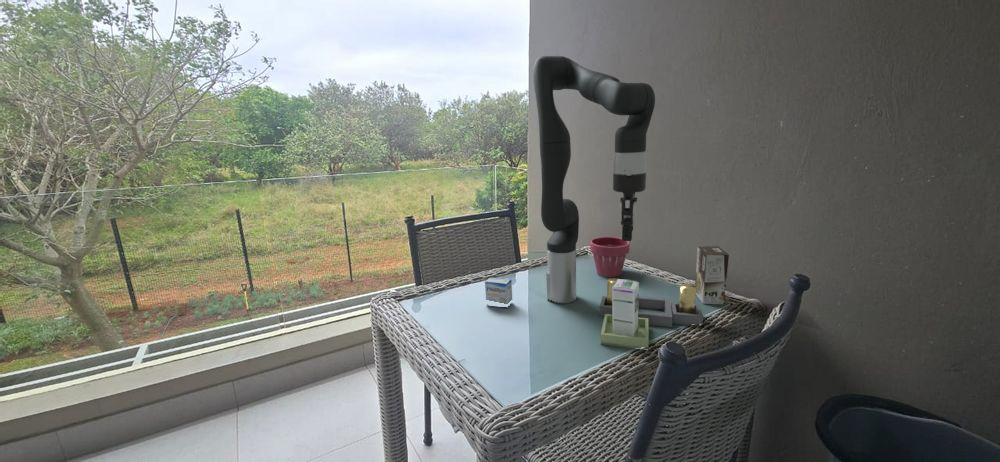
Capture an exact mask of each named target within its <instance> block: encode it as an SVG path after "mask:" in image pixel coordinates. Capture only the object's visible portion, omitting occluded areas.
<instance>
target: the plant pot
mask: <svg viewBox="0 0 1000 462" xmlns="http://www.w3.org/2000/svg"><path fill="white" fill-rule="evenodd" d="M589 247H590V249H589V251H590V252H591V253H592V255H593V261H594V265H595V269H596V273H597V275H599V276H600V275H601V276H600V277H603V278H604V277H605V278H617V277H620V276H621V275H622V272H623V268H624V265H625V262H626V257H627V254H629V252H630V241H623V240H622V237H616V236H600V237H599V236H598V237H595V238H592V239H591V240H590V245H589ZM619 275H620V276H619Z"/></svg>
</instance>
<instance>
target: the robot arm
mask: <svg viewBox="0 0 1000 462" xmlns="http://www.w3.org/2000/svg"><path fill="white" fill-rule="evenodd" d="M532 71H533V72H532V77H533V78H532V79H533V87H534V94H535V101H536V108H537V118H538V133H539V153H540V154H539V156H540V163H541V165H540V167H541V168H540V169H541V172H540V173H541V203H540V204H541V207H540V216H541V222H542V224H543V226H544V227H545V229H546V230H547V231H549V232H551V233H552V234H551V236H550V237H549V239H548V240H547V243H546V251H547V252H546V254H547V272H546V276H545V277H546V300H547V299H549V300H548V301H551V300H552V301H551V302H553V301H554V302H553V303H556V302H557V304H569V303H573V302H575V301H576V300H577V242H578V240H579V229H580V228H579V227H580V225H579V224H580V215H579V213H580V212H579V209H578V207H577V205H576V203H575V202H574V201H573V200H571V199H568V198H564V197H563V196H564V183H565V179H566V177H567V174H568V169H569V167H570V164H571V163H570V162H571V159H572V149H571V147H572V146H571V136H570V135H571V134H570V132H569V130H568V128H567V125H566V123H565V122H564V120H563V119H562V117H561V116H560V114H559V112H558V111H557V107H556V104H555V99H554V91H562V90H575V91H578V92H579V94H580V95H581V96H582V97H583V98H584V99H586V100H588V101H590V102H592V103H594V104H598V105H601V106H602V107H603V108H604V109H605V110H607V112H609V113H611V114H614V115H617V116H628V118H627V121H626V124H625V125H623V126H621V127H618V128H617V129H616V131H615V133H614V157H613V162H612V163H613V165H612V166H613V167H612V169H613V172H612V173H613V174H612V190H613V191H614V192H616V193H622V195H623V197H620V199H619V207H620V210H619V211H620V213H619V214H620V215H619V216H620V218H621V221H620V225H621V226H622V227H621V228H622V229H621V230H622V231H621V233H622V234H621V238H622V240H623V241H629V242H632V240H633V231H634V218H635V217H636V211H637V207H638V197H636V193H641V192H643V191H645V190H646V188H647V187H646V185H647V182H646V181H647V152H646V151H647V133H648V130H649V127H650V123H651V120H652V118H653V117H652V116H653V113H654V109H655V105H656V94H655V90H654V89H653V87H652V86H651V85H650V84H649V83H645V82H621V81H620V79H619V78H617V77H615V76H613V75H609V74H606V73H603V72H599V71H595V70H592V69H588V68H586V67H583V66H582V65H580V64H578V62H575V61H574V60H572V59H571V58H569V57H566V56H564V55H563V56H562V55H561V56H560V55H541V56H539V57H537V58H536V60H535V62H534V65H533V69H532Z"/></svg>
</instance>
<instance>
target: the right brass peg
mask: <svg viewBox="0 0 1000 462" xmlns="http://www.w3.org/2000/svg"><path fill="white" fill-rule="evenodd" d="M678 303H679V313H687V314H694V308H695V304H696V286H695V284H692V283H681V284H680V286H679V298H678Z"/></svg>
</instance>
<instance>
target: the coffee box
mask: <svg viewBox="0 0 1000 462" xmlns="http://www.w3.org/2000/svg"><path fill="white" fill-rule="evenodd" d="M696 250H697V252H696V268H695V269H696V270H695V283H694V286H696V294H695V296H697V298H698V299H699V300H700V302H701V303H702V304H703V305H704V304H705V305H707V304H708V305H724V304H725V297H726V289H727V287H726V286H727V278H728V267H729V258H730V254H729V253H728V252H726V251H725V250H724V249H723V248H722V247H720V246H718V245H717V246H716V245H715V246H714V245H711V246H708V245H707V246H697V249H696ZM723 303H724V304H723Z"/></svg>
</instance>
